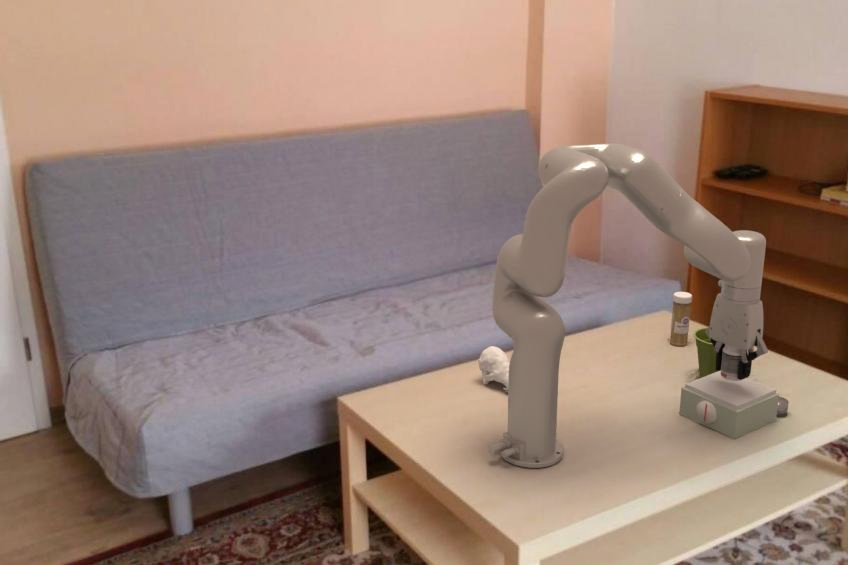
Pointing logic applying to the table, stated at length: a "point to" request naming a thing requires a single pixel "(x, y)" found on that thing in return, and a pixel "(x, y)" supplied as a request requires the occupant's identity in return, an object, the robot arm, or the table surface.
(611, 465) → the table surface
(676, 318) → the sprinkles bottle
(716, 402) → the scale
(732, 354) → the pill bottle
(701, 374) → the plant pot
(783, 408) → the spacer
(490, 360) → the white lumpy rounded piece
